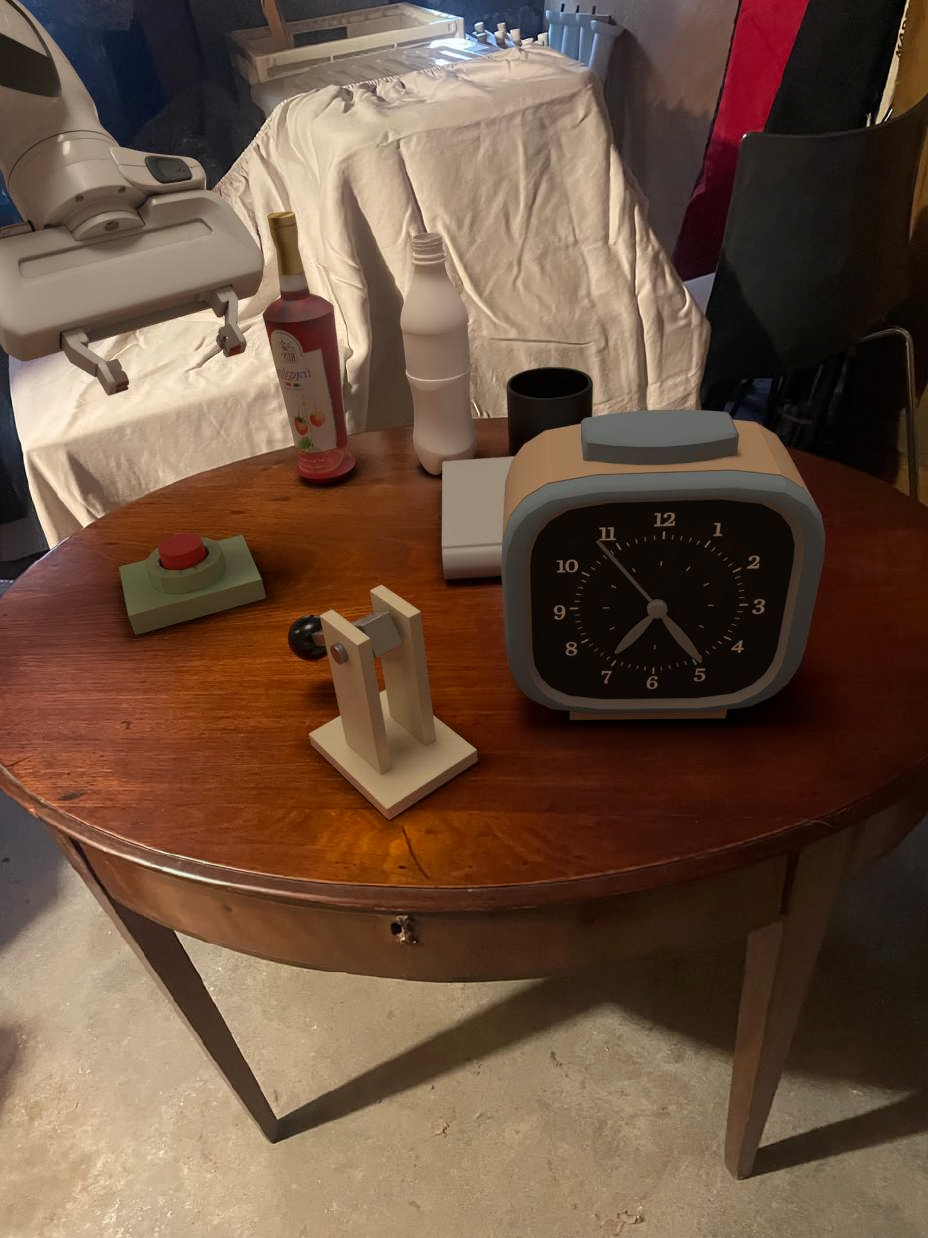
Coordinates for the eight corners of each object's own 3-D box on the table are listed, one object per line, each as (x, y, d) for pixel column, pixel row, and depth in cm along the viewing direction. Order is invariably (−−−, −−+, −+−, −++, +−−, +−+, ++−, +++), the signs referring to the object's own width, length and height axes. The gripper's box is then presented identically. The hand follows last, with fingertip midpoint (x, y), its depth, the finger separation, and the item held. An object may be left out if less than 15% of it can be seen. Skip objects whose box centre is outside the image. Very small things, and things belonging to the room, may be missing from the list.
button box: (135, 635, 79) (122, 599, 76) (125, 585, 85) (113, 550, 83) (266, 598, 82) (257, 562, 79) (247, 553, 89) (238, 518, 86)
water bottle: (409, 458, 103) (383, 233, 88) (467, 447, 105) (451, 223, 90) (425, 485, 98) (400, 249, 83) (486, 472, 99) (472, 238, 84)
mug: (549, 425, 108) (549, 353, 103) (608, 461, 99) (610, 384, 94) (483, 446, 105) (479, 372, 99) (537, 484, 96) (536, 406, 91)
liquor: (370, 465, 103) (333, 207, 86) (336, 494, 97) (290, 225, 81) (318, 456, 105) (272, 204, 89) (283, 484, 100) (227, 222, 84)
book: (442, 461, 94) (667, 445, 93) (445, 492, 96) (665, 477, 95) (441, 552, 79) (709, 534, 78) (445, 587, 81) (704, 570, 81)
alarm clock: (509, 730, 66) (495, 469, 53) (511, 650, 73) (499, 405, 60) (792, 727, 64) (849, 457, 51) (763, 645, 71) (807, 392, 58)
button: (166, 576, 79) (160, 560, 78) (160, 555, 82) (155, 539, 81) (210, 564, 80) (205, 548, 79) (202, 544, 83) (198, 528, 82)
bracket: (310, 745, 66) (277, 607, 58) (396, 695, 70) (375, 559, 62) (389, 820, 59) (363, 677, 52) (478, 761, 63) (466, 619, 56)
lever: (292, 669, 68) (273, 627, 68) (331, 648, 70) (313, 607, 69) (371, 672, 56) (348, 621, 55) (415, 647, 58) (394, 597, 57)
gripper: (-66, 210, 57) (38, 391, 57) (216, 154, 67) (307, 309, 66) (-55, 269, 63) (40, 435, 62) (205, 210, 72) (288, 353, 72)
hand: (180, 369), depth 64 cm, fingers open, 8 cm apart
